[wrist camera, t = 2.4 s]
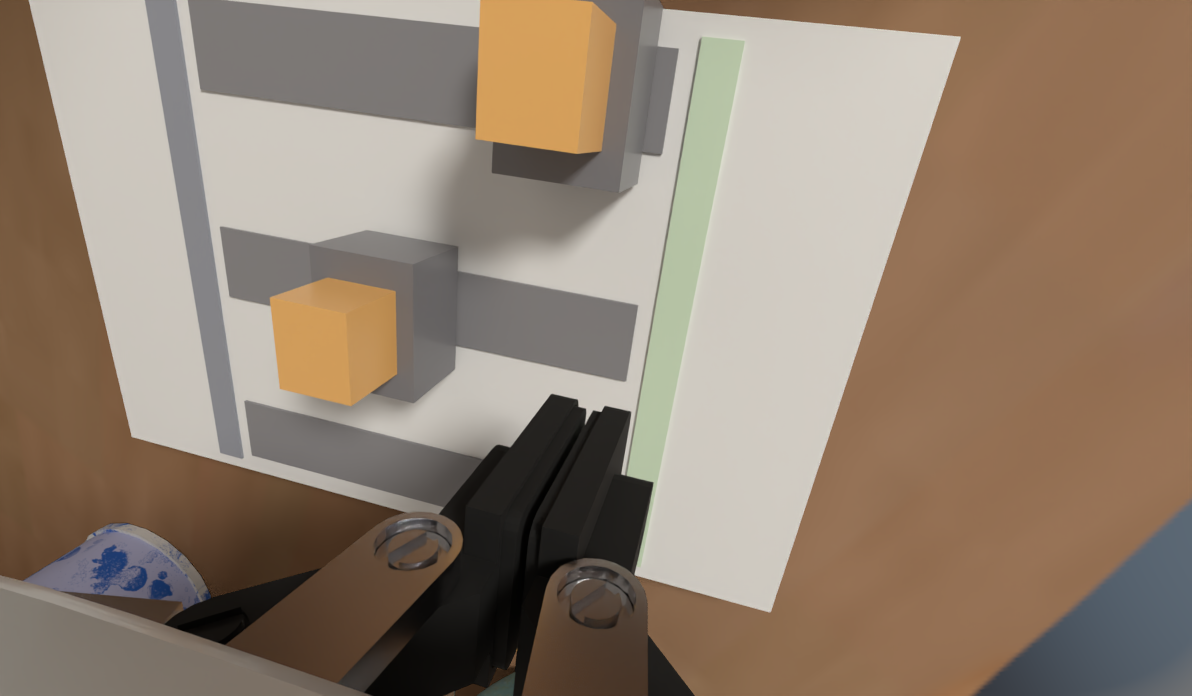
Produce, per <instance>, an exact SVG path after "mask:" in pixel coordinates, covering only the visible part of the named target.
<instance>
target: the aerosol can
mask: <svg viewBox="0 0 1192 696" xmlns="http://www.w3.org/2000/svg"><path fill="white" fill-rule="evenodd" d="M23 581H24V582H28V583H32V584H36V585H40V586H44V587H47V588H51V589H54V590H57V591H65V592H77V593H88V594H99V595H111V596H122V597H134V598H145V599H156V600H168V601H179V602H182V604H183V609H184V610H185V609H187V608H188V607H190V606H192V605H194V604H196V603H199V602H202V601H205V600H207V599H210V598H211V595H210V593H209V591H208V589H207V587H206V585H205V583H204V581H203V579H202V577H201V575H200V574H199V573H198V572H197V570H196V569H195V568H194V567H193V565H192V564H191V563H190V562H189V560H188V559H187V558H186V557H185V556H184V555H183V554H182V553H180V552H179V551H178V550H177V549H176V548H175V547H173V546H172V545H171V544H170V543H169V542H168V541H166V540H164V539H163V538H161V537H159V536H157V535H156V534H154V533H152V532H150V531H149V530H147V529H144V528H140V527H137V526H134V525H131V524H127V523H123V524H109V525H107V526H105V527H103V528H101V529H99V530H97V531H95V532H94V533H92V534H90V535H89V536H88V538H87V540H86V541H85V542H84V543H83V544H81V545H80V546H78V547H76V548H75V549H73V550H72V551H70V552H68V553H67V554H65V555H63V556H62V557H60V558H59V559H57V560H55V561H54V562H52V563H51V564H49V565H47V566H46V567H44V568H43V569H41V570H39V571H38V572H36V573H35V574H33V575H31V576H30V577H28V578H26V579H25V580H23Z"/></svg>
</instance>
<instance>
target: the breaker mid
mask: <svg viewBox="0 0 1192 696" xmlns="http://www.w3.org/2000/svg"><path fill="white" fill-rule="evenodd" d="M309 254H310V266H311V279H312V283H310V284H307V285H304V286H301V287H298V288H296V289H293V290H290V291H287V292H284V293H281V294H278V295H275V296H272V297H270V305H271V314H272V323H273V332H274V341H275V350H276V359H277V368H278V377H279V386H280V389H282V390H286V391H290V392H295V393H299V394H303V395H307V396H311V397H315V398H319V399H323V400H327V401H332V402H336V403H340V404H344V405H348V406H352V405H354V404H355V403H357V402H358V401H359V400H361V399H362V398H364V397H365V396H367V395H368V394H369V393H372V394H376V395H381V396H385V397H389V398H393V399H397V400H402V401H406V402H410V403H415V402H416V401H417V400H419V399H420V398H421V397H422V396H423V395H425V394H426V393H427V392H428V391H429V390H431V389H432V388H433V387H434V386H435V385H437V384H438V383H439V382H440V381H442V380H443V379H444V378H445V377H446V376H448V375H449V374H450V373H451V372H452V371H454V370H455V359H456V320H457V280H458V246H453V245H448V244H442V243H436V242H431V241H425V240H420V239H414V238H409V237H403V236H398V235H392V234H387V233H381V232H376V231H370V230H365V231H361V232H357V233H353V234H349V235H345V236H341V237H337V238H333V239H329V240H325V241H321V242H317V243H313V244H309Z"/></svg>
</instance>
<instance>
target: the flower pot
mask: <svg viewBox="0 0 1192 696" xmlns="http://www.w3.org/2000/svg"><path fill="white" fill-rule="evenodd" d="M514 681H515V672H514V673H512V674H510V675H508V676H506V677H504V678H502V679H501V680H499V681H497V682H496V683H494V684H492V685H491V686H489V687H488V688H487V689H485V690H484V691H482V692H481V693H479V694H478V695H477V696H513V690H514Z"/></svg>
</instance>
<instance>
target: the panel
mask: <svg viewBox="0 0 1192 696" xmlns="http://www.w3.org/2000/svg"><path fill="white" fill-rule="evenodd" d="M29 3H30V8H31V12H32V16H33V20H34V25H35V29H36V33H37V37H38V42H39V46H40V50H41V54H42V58H43V63H44V67H45V71H46V75H47V80H48V84H49V88H50V92H51V97H52V101H53V105H54V109H55V113H56V118H57V122H58V126H59V130H60V135H61V139H62V143H63V147H64V152H65V156H66V160H67V164H68V168H69V173H70V177H71V181H72V185H73V190H74V194H75V198H76V202H77V207H78V211H79V215H80V219H81V223H82V228H83V232H84V236H85V240H86V245H87V249H88V253H89V257H90V262H91V266H92V270H93V274H94V278H95V283H96V287H97V291H98V295H99V300H100V304H101V308H102V312H103V317H104V321H105V325H106V329H107V333H108V338H109V342H110V346H111V350H112V355H113V359H114V363H115V367H116V372H117V376H118V380H119V384H120V388H121V393H122V397H123V401H124V405H125V410H126V414H127V418H128V422H129V427H130V431H131V435H132V437H134V438H138V439H142V440H145V441H149V442H152V443H156V444H160V445H163V446H167V447H171V448H174V449H178V450H182V451H185V452H189V453H192V454H196V455H200V456H203V457H207V458H211V459H214V460H218V461H221V462H225V463H229V464H232V465H236V466H240V467H243V468H247V469H251V470H254V471H258V472H261V473H265V474H269V475H272V476H276V477H280V478H283V479H287V480H291V481H294V482H298V483H301V484H305V485H309V486H312V487H316V488H320V489H323V490H327V491H330V492H334V493H338V494H341V495H345V496H349V497H352V498H356V499H360V500H363V501H367V502H370V503H374V504H378V505H381V506H385V507H389V508H392V509H396V510H400V511H403V512H407V513H409V512H432V513H435V514H439V513H440V512H441V510H442V509H443V508H444V507H445V506H446V504H447V503H448V502H449V501H450V500H451V498H452V497H453V496H454V495H455V493H456V492H457V491H458V490H459V489H460V487H461V486H462V485H463V484H464V482H465V481H466V480H467V479H468V478H469V476H470V475H471V474H472V473H473V472H474V470H475V469H476V468H477V467H478V465H479V464H480V463H481V462H482V461H483V459H484V458H485V457H486V456H487V454H488V453H489V452H490V451H491V450H492V448H494V447H495V446H496V445H504V446H508V447H511V446H512V445H513V443H514V442H515V441H516V439H517V438H518V437H519V435H520V434H521V433H522V431H523V430H524V429H525V427H526V426H527V425H528V424H529V422H530V421H531V420H532V418H533V417H534V416H535V414H536V413H537V412H538V410H539V409H540V408H541V407H542V405H543V404H544V403H545V401H546V400H547V399H548V397H549V396H550V395H551V394H555V395H560V396H564V397H569V398H573V399H578V405H579V406H578V407H582V408H586V420H585V424H586V422H587V420H588V418H589V417H590V415H591V413H592V411H593V410H595V411H599V412H602V410H603V408H604V406H609V407H613V408H618V409H622V410H627V411H631V420H630V426H629V432H628V438H627V444H626V450H625V455H624V461H623V467H622V473H621V474H622V475H626V476H630V477H634V478H638V479H642V480H646V481H650V482H654V484H653V490H652V495H651V500H650V505H649V511H648V516H647V521H646V525H645V530H644V535H643V540H642V544H641V549H640V553H639V557H638V562H637V566H636V570H635V574H634V575H636V576H639V577H643V578H647V579H650V580H654V581H658V582H661V583H665V584H668V585H672V586H676V587H679V588H683V589H687V590H690V591H694V592H697V593H701V594H705V595H708V596H712V597H716V598H719V599H723V600H727V601H730V602H734V603H737V604H741V605H745V606H748V607H752V608H756V609H759V610H763V611H767V612H771V609H772V606H773V603H774V600H775V597H776V594H777V591H778V588H779V585H780V582H781V579H782V576H783V573H784V570H785V567H786V564H787V561H788V558H789V555H790V552H791V549H792V546H793V543H794V540H795V537H796V534H797V531H798V528H799V525H800V522H801V519H802V516H803V513H804V510H805V507H806V504H807V501H808V498H809V495H810V492H811V488H812V485H813V482H814V479H815V476H816V473H817V470H818V467H819V464H820V461H821V458H822V455H823V452H824V449H825V446H826V443H827V440H828V437H829V434H830V431H831V428H832V425H833V422H834V419H835V416H836V413H837V410H838V407H839V404H840V401H841V398H842V395H843V392H844V389H845V386H846V383H847V380H848V377H849V374H850V371H851V368H852V365H853V361H854V358H855V355H856V352H857V349H858V346H859V343H860V340H861V337H862V334H863V331H864V328H865V325H866V322H867V319H868V316H869V313H870V310H871V307H872V304H873V301H874V298H875V295H876V292H877V289H878V286H879V283H880V280H881V277H882V274H883V271H884V268H885V265H886V262H887V259H888V256H889V253H890V250H891V247H892V244H893V241H894V238H895V234H896V231H897V228H898V225H899V222H900V219H901V216H902V213H903V210H904V207H905V204H906V201H907V198H908V195H909V192H910V189H911V186H912V183H913V180H914V177H915V174H916V171H917V168H918V165H919V162H920V159H921V156H922V153H923V150H924V147H925V144H926V141H927V138H928V135H929V132H930V129H931V126H932V123H933V120H934V117H935V114H936V110H937V107H938V104H939V101H940V98H941V95H942V92H943V89H944V86H945V83H946V80H947V77H948V74H949V71H950V68H951V65H952V62H953V59H954V56H955V53H956V50H957V47H958V44H959V41H960V38H961V37H956V36H945V35H935V34H924V33H914V32H903V31H892V30H882V29H871V28H861V27H850V26H840V25H829V24H818V23H808V22H797V21H787V20H776V19H766V18H755V17H744V16H734V15H723V14H713V13H702V12H692V11H681V10H670V9H663V12H662V19H661V26H660V33H659V40H658V47H657V54H656V60H655V67H654V74H653V81H652V88H651V95H650V102H649V109H648V116H647V122H646V129H645V136H644V143H643V150H642V157H641V164H640V171H639V177H638V184H636V185H634V186H632V187H630V188H628V189H626V190H624V191H622V192H619V193H617V192H611V191H604V190H598V189H591V188H585V187H579V186H572V185H566V184H559V183H553V182H546V181H540V180H533V179H527V178H520V177H514V176H507V175H501V174H494V173H492V152H493V142H491V141H484V140H477V139H475V136H476V107H477V79H478V50H479V21H480V0H29ZM365 230H370V231H376V232H381V233H387V234H392V235H398V236H403V237H409V238H414V239H420V240H425V241H431V242H436V243H442V244H448V245H453V246H458V280H457V320H456V359H455V370H454V371H452V372H451V373H450V374H449V375H448V376H446V377H445V378H444V379H443V380H442V381H440V382H439V383H438V384H437V385H435V386H434V387H433V388H432V389H431V390H429V391H428V392H427V393H426V394H425V395H423V396H422V397H421V398H420V399H419V400H417V401H416V402H415V403H410V402H406V401H402V400H397V399H393V398H389V397H385V396H381V395H376V394H372V393H369V394H368V395H367V396H365V397H364V398H362V399H361V400H359V401H358V402H357V403H355V404H354V405H352V406H348V405H344V404H340V403H336V402H332V401H327V400H323V399H319V398H315V397H311V396H307V395H303V394H299V393H295V392H290V391H286V390H282V389H280V386H279V377H278V368H277V359H276V350H275V341H274V332H273V323H272V314H271V305H270V297H272V296H275V295H278V294H281V293H284V292H287V291H290V290H293V289H296V288H298V287H301V286H304V285H307V284H310V283H312V279H311V266H310V254H309V244H313V243H317V242H321V241H325V240H329V239H333V238H337V237H341V236H345V235H349V234H353V233H357V232H361V231H365Z"/></svg>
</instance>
